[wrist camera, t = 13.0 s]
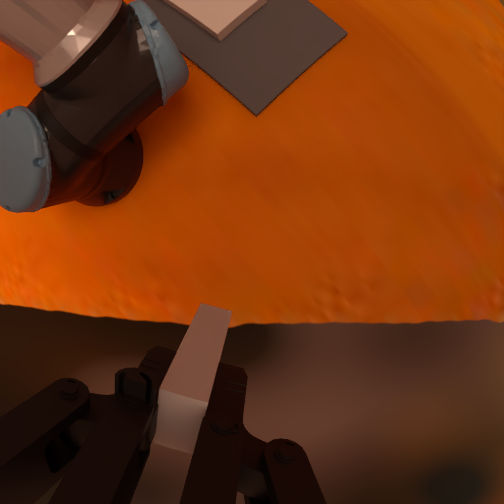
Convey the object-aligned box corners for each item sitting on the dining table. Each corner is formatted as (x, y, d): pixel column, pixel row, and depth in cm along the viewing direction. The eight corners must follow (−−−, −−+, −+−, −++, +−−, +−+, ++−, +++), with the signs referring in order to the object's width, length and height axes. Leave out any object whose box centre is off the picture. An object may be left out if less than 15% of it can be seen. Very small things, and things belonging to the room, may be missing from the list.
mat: (346, 35, 40) (347, 33, 39) (256, 116, 45) (256, 115, 44) (212, -56, 36) (211, -59, 35) (128, 13, 41) (126, 11, 40)
